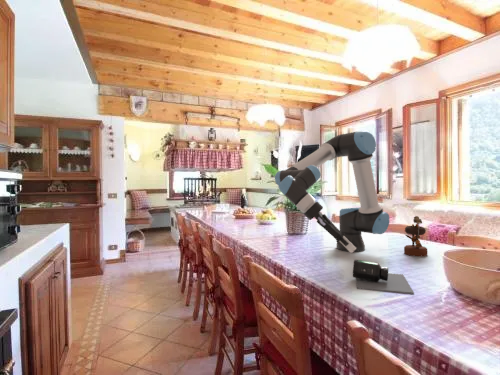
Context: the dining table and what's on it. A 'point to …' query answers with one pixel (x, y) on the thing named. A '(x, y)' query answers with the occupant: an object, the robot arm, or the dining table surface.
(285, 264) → the dining table surface
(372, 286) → the mat
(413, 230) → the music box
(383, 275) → the supplement bottle
